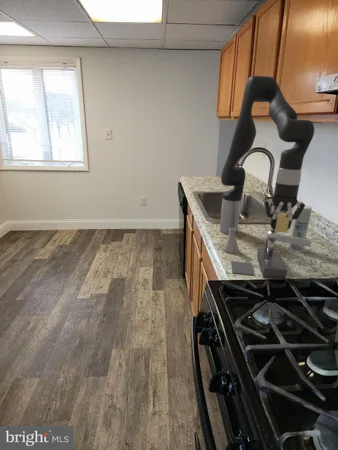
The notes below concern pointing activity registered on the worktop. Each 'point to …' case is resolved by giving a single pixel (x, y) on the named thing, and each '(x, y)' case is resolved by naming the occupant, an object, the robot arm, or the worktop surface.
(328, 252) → the worktop surface
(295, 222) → the spray can
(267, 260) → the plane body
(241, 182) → the robot arm
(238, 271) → the mat
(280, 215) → the tan upright block
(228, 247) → the flask
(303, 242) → the lever
